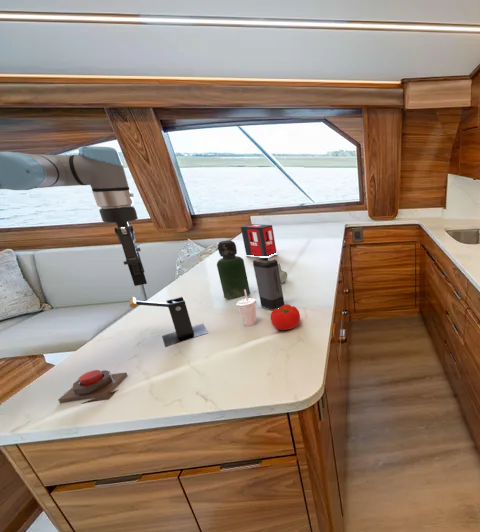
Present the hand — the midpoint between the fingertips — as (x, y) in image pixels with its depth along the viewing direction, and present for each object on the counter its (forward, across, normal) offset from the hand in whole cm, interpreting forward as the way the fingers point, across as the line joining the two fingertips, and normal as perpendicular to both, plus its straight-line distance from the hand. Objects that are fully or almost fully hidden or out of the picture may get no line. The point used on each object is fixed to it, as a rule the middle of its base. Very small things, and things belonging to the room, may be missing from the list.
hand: (140, 278), depth 89 cm
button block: (+24, -14, +15) cm, 31 cm away
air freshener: (+24, +31, -49) cm, 62 cm away
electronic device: (+24, +5, -37) cm, 45 cm away
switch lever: (+11, +2, -1) cm, 11 cm away
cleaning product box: (+24, +86, -59) cm, 107 cm away
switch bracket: (+24, +2, -7) cm, 25 cm away
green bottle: (+24, +28, -30) cm, 47 cm away
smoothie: (+24, -6, -26) cm, 36 cm away
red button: (+20, -14, +15) cm, 29 cm away
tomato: (+24, -15, -36) cm, 45 cm away
